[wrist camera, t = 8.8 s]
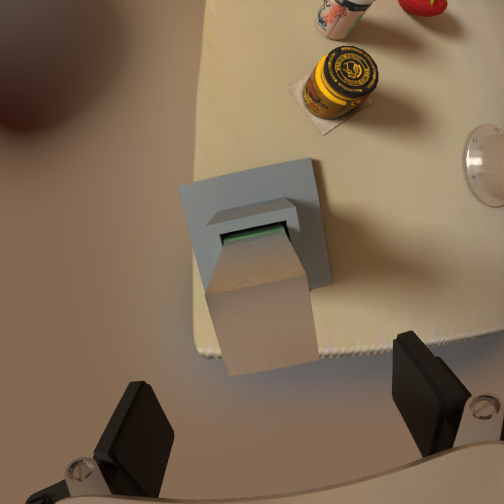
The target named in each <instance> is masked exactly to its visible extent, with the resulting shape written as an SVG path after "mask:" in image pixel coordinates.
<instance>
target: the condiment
mask: <svg viewBox="0 0 504 504" xmlns="http://www.w3.org/2000/svg"><path fill="white" fill-rule="evenodd" d="M377 83H378V69H377V65H376V63H375V62H374V60H373V59H372V58H371V56H370V55H369V54H368V53H366V52H365V51H364V50H362V49H359V48H357V47H355V46H341V47H337V48H335V49H334V50H332V51H331V52H330V53H329V54H327V55H325V56H324V57H323V58H321V59H320V61H319V62H318V64H317V65H316V67H315V68H314V70H313V72H312V73H311V74H310V75H308V76H307V77H305V78H303V79H302V80H300V81H299V82H297V83H295V84H294V85H292V86H291V87H289V88H287V89H288V90H289V91H290V93H291V94H292V95H293V96H294V98H295V99H296V100H297V102H298V103H299V104H300V105H301V107H302V108H303V109H304V111H305V112H306V113H307V114H308V116H309V117H310V118H311V120H312V121H313V122H314V124H315V125H316V126H317V127H318V129H319V130H320V131H321V133H322V134H323V135H324V134H326V133H327V132H329V131H330V130H331V129H333V128H334V127H336V126H337V125H339V124H340V123H342V122H343V121H345V120H346V119H348V118H349V117H351V116H352V115H354V114H355V113H357V112H358V111H360V110H361V109H363V108H364V107H366V106H367V105H369V104H370V103H372V102H373V100H372V99H371V97H370V96H369V95H370V93H371V92H373V90H374V89H375V88H376V85H377Z"/></svg>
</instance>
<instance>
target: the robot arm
mask: <svg viewBox="0 0 504 504" xmlns="http://www.w3.org/2000/svg"><path fill="white" fill-rule="evenodd" d="M464 168H465V174H466V179H467V182H468V184H469V187H470V189H471V191H472V193H473V194H474V195H475V197H476V198H477V199H478V200H479V201H480V202H482V203H483V204H485V205H488V206H493V207H498V206H502V205H504V131H503V130H502V129H500V128H499V127H497V126H494V125H483V126H480V127H478V128H477V129H475V130H474V131H473V132H472V133H471V135H470V137H469V139H468V141H467V144H466V147H465V153H464ZM392 396H393V400H394V402H395V404H396V406H397V408H398V410H399V411H400V413H401V415H402V417H403V419H404V421H405V423H406V425H407V427H408V429H409V430H410V433H411V435H412V437H413V438H414V441H415V443H416V444H417V446H418V448H419V450H420V452H421V454H422V457H423V458H421V459H419V460H416V461H413V462H410V463H407V464H404V465H402V466H398V467H395V468H392V469H389V470H385V471H382V472H379V473H375V474H372V475H368V476H365V477H361V478H357V479H353V480H349V481H345V482H341V483H336V484H332V485H327V486H323V487H317V488H312V489H306V490H300V491H294V492H288V493H281V494H272V495H263V496H254V497H241V498H224V499H223V498H222V499H167V498H158V497H159V493H160V489H161V485H162V482H163V478H164V474H165V470H166V466H167V463H168V459H169V456H170V452H171V448H172V444H173V441H174V431H173V429H172V427H171V425H170V423H169V421H168V420H167V417H166V415H165V414H164V412H163V410H162V408H161V406H160V404H159V402H158V400H157V397H156V395H155V393H154V391H153V389H152V387H151V386H150V385H149V384H147V383H146V382H145V381H135V382H130V383H129V385H128V387H127V388H126V390H125V392H124V394H123V396H122V398H121V400H120V402H119V404H118V405H117V408H116V409H115V411H114V413H113V415H112V417H111V419H110V421H109V423H108V425H107V427H106V428H105V430H104V433H103V434H102V436H101V438H100V440H99V442H98V444H97V446H96V448H95V450H94V457H93V459H92V458H91V457H86V456H85V457H79V458H76V459H74V460H72V461H71V462H70V463H69V464H68V465H67V467H66V469H65V471H64V475H65V479H64V480H62V481H60V482H58V483H56V484H54V485H52V486H50V487H47V488H45V489H43V490H41V491H39V492H36V493H34V494H33V495H31V496H30V497H29V498H28V499H27V501H26V503H25V504H504V402H503V400H502V399H501V398H500V397H499V396H498V395H496V394H494V393H491V392H480V393H477V394H474V395H473V396H472V395H471V393H470V392H469V391H468V390H467V389H466V388H465V386H464V385H463V384H462V383H461V381H460V380H459V379H458V378H457V377H456V375H455V374H454V373H453V372H452V371H451V369H450V368H449V367H448V366H447V365H446V364H445V362H444V361H443V360H442V359H441V358H440V357H437V356H436V357H435V356H434V355H433V354H432V352H431V351H430V350H429V349H428V348H427V347H426V345H425V344H424V343H423V342H422V341H421V340H420V339H419V337H418V336H417V335H416V334H415V333H414V332H413V331H408V332H404V333H401V334H398V335H397V339H394V340H393V376H392Z"/></svg>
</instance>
